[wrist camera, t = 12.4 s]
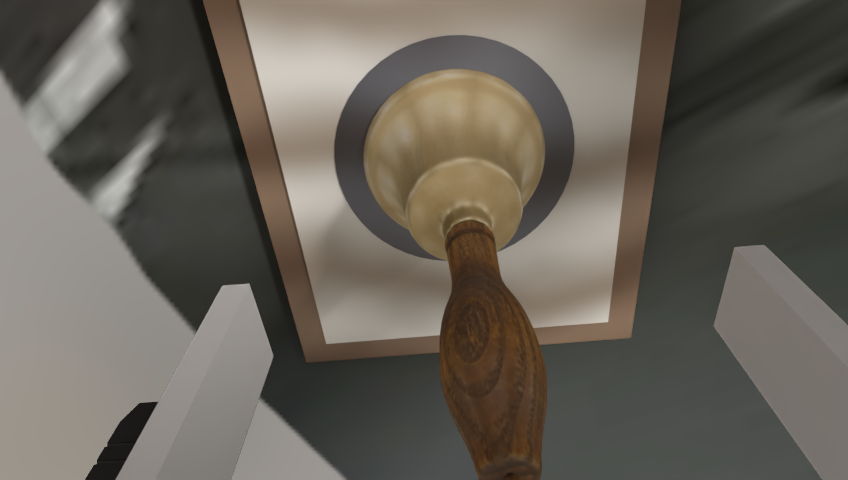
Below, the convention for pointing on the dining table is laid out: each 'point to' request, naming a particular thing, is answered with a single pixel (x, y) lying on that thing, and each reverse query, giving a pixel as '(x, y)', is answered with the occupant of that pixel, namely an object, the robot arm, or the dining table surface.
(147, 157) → the dining table surface
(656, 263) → the dining table surface
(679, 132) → the dining table surface
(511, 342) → the hand bell
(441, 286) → the drawing board
